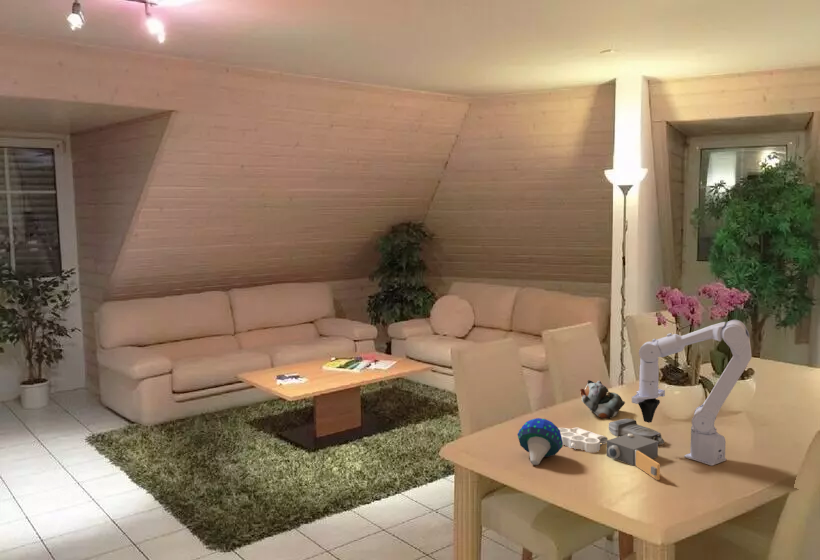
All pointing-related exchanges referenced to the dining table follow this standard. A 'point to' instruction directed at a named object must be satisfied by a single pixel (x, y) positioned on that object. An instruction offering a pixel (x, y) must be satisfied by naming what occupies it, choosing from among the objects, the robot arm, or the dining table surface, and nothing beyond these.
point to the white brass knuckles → (582, 439)
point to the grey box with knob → (631, 447)
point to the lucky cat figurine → (601, 400)
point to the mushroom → (540, 439)
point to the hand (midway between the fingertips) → (647, 421)
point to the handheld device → (633, 429)
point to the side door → (647, 465)
